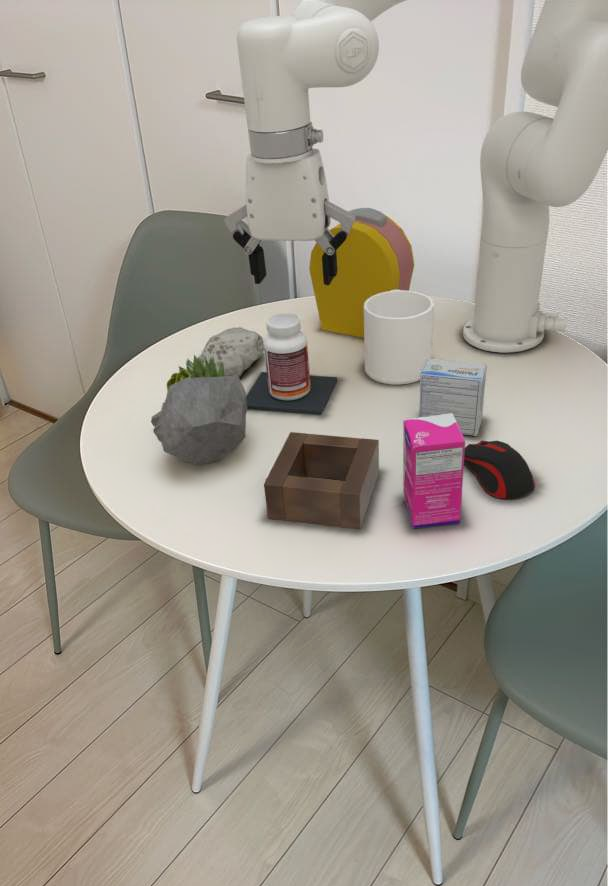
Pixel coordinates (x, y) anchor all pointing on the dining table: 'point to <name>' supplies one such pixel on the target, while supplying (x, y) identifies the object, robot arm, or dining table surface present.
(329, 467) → the holder
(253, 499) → the dining table surface
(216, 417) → the potted plant
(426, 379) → the medicine box
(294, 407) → the mat
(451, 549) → the dining table surface
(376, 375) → the mug
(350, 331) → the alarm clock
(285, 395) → the pill bottle
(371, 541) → the dining table surface
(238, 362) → the decorative stone
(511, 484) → the computer mouse
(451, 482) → the supplement box
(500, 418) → the dining table surface
